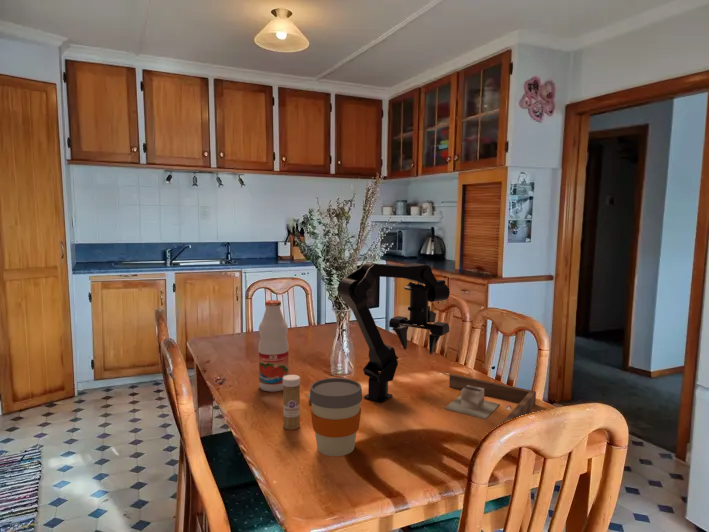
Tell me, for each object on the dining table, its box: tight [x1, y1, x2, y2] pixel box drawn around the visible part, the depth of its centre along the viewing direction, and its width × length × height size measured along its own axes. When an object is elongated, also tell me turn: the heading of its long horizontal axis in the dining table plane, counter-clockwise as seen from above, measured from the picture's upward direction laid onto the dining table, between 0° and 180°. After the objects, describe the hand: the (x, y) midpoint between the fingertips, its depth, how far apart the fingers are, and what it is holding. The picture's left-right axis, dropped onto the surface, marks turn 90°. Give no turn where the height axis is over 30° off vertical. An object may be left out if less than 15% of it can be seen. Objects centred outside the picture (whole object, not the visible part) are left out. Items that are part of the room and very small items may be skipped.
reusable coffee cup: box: [309, 377, 363, 457], centre depth 113 cm, size 13×12×15 cm
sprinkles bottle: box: [282, 374, 301, 431], centre depth 124 cm, size 5×5×14 cm
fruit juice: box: [258, 299, 290, 393], centre depth 152 cm, size 9×9×28 cm
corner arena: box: [444, 373, 537, 425], centre depth 136 cm, size 28×26×4 cm
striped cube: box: [460, 385, 485, 411], centre depth 138 cm, size 5×5×5 cm
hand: (418, 351), depth 152 cm, fingers open, 9 cm apart
